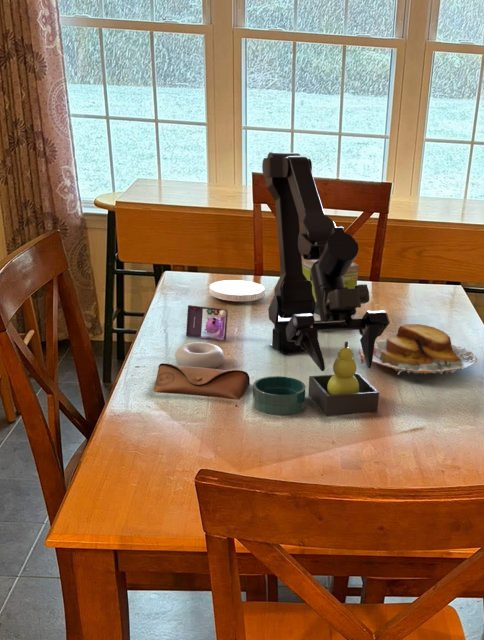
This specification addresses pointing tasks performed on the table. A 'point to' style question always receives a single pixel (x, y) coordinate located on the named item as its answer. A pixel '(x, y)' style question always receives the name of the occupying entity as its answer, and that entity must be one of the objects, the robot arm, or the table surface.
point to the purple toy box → (212, 324)
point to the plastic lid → (237, 290)
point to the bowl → (279, 395)
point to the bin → (343, 397)
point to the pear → (343, 374)
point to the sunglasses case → (201, 381)
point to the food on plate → (420, 351)
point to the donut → (199, 355)
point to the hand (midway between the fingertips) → (346, 368)
